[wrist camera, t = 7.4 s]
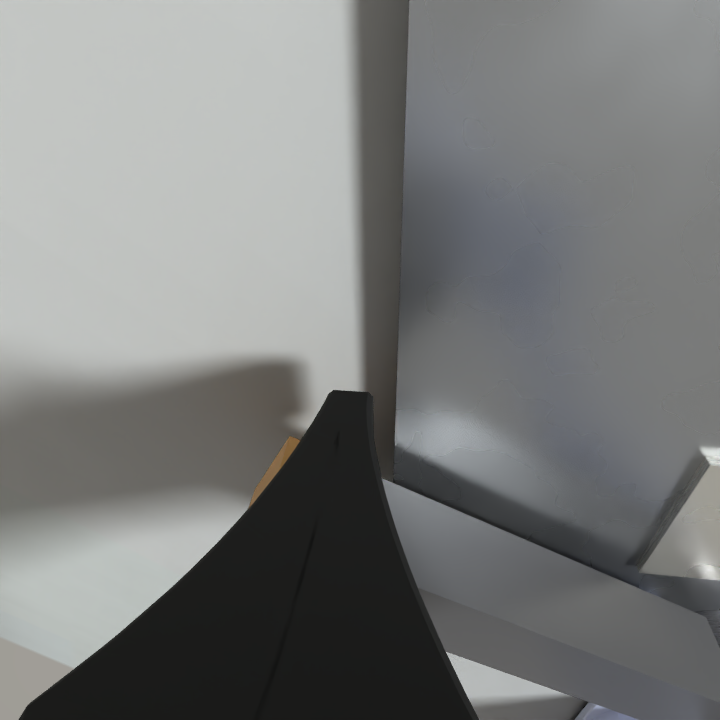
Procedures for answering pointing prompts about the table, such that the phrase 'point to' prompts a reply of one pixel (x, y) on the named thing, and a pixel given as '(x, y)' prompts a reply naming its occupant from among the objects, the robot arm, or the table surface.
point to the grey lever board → (567, 280)
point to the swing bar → (550, 614)
